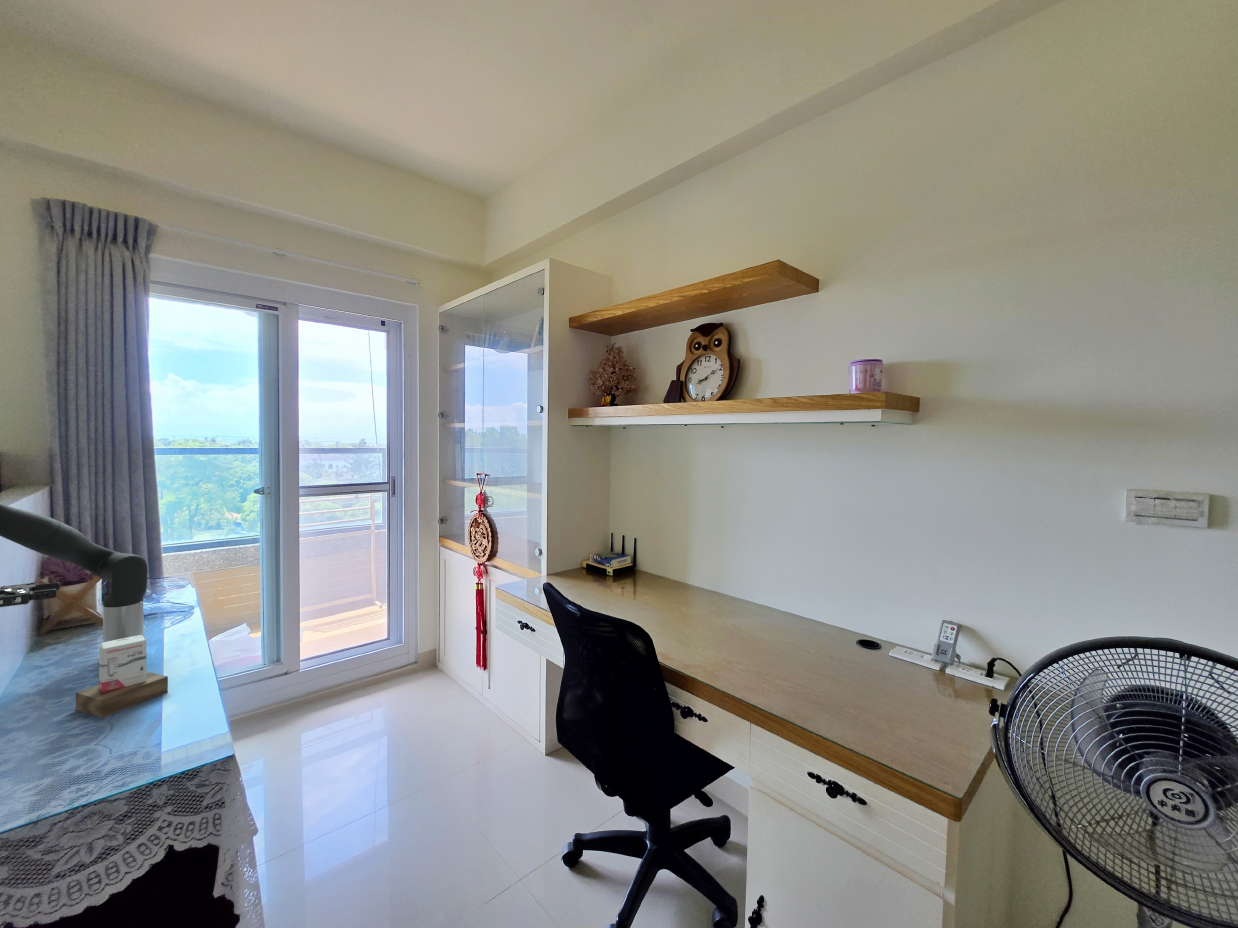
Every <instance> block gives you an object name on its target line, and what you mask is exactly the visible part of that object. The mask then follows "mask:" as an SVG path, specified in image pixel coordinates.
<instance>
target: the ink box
mask: <svg viewBox="0 0 1238 928" xmlns="http://www.w3.org/2000/svg"><path fill="white" fill-rule="evenodd" d="M98 647H99V650H98V651H99V653H98V654H99V655H98V656H99V659H98V662H99V663H98V666H99V667H98V669H99V670H98V673H99V674H98V685H99V689H100V691H101V692H107V691H111V690H115V689H119V688H122V687H126V686H130V685H134V684H138V683H141V682H145V681H146V671H147V638H146V637H145V636H142V635H138V636H133V637H128V638H123V639H118V640H113V641H108V642H103V641H102V642H101V643H99V646H98Z"/></svg>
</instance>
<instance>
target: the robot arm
mask: <svg viewBox="0 0 1238 928" xmlns="http://www.w3.org/2000/svg"><path fill="white" fill-rule="evenodd" d="M0 537H2V538H3V539H7V540H8V541H11V542H13V543H16V544H17V545H20V546H22V547H24V548H27V549H30V551H31V550H32V551H34V552H36V553H39V554H42V555H44V556H47V557H49V558H50V557H51V558H53V559H56V560H59V561H62V562H66V563H70V564H72V565H75V566H77V567H80V568H81V569H84V570H86V571H87V572H89V573H91V574H93V575H95V576H96V577H99V578H100V579H102V580H104V581H108V582H110V585H111V586H110V593H109V594H107V595H105V596H104V597H103V600H102V615H103V616H102V625H103V626H102V629H103V637H102V639H103V641H102V643H103V642H108V641H113V640H118V639H123V638H128V637H133V636H138V635H142V636H144V635H145V634H144V631H145V629H144V626H145V625H144V624H145V622H144V620H145V619H144V596H145V594H146V592H147V587H148V572H149V571H148V563H147V561H146V560H145V558H144V557H143V556H141V555H138V554H133V553H124V552H118V551H115V550H112V549H109V548H106V547H103V546H100V545H99V544H96V543H95V542H93V541H91V540H90V539H89V538H88V537H87V536H85V534H83V533H82V532H80V531H79V530H78V529H76V528H74V527H72V526H70V525H68V524H66V523H64V522H61V521H59V520H57V519H55V518H53V517H50V516H46V515H43V514H39V513H36V512H32V511H29V510H24V509H20V508H16V507H13V506H10V505H7V504H5V503H2V502H0ZM60 589H61V582H58V581H55V582H48V583H36V582H30V583H21V584H14V585H4V586H3V585H2V586H0V608H4V607H14V606H21V605H28V604H29V603H32V602H34V601H40V600H41V601H42V600H47V599H48V600H49V599H54V598H56V597H57V595H58V594H57V593H58V592H57V591H60ZM144 637H145V636H144Z"/></svg>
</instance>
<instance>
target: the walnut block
mask: <svg viewBox="0 0 1238 928" xmlns="http://www.w3.org/2000/svg"><path fill="white" fill-rule="evenodd" d="M168 681H169V675H164V674H160V673H156V672H151V671H148V670H146V681H145V682H141V683H138V684H134V685H130V686H126V687H122V688H119V689H115V690H111V691H107V692H101V691H100V689H99V684H98V685H95V686H91V687H87V688H86V689H82V690H79V691H76V692H75V710H76V711H78V712H82V713H85V714H88V715H91V716H94V717H99V718H101V719H103V718H105V717H108V716H111V715H113V714H115V713H117V712H121V711H123V710H126V709H128V708H131V707H134V706H136V705H138V704H141V703H144V702H147V701H150V700H151V699H154V698H156V697H157V698H158V697H159V696H162V695H164V694H167V693H169V685H168V684H169V682H168Z"/></svg>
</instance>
